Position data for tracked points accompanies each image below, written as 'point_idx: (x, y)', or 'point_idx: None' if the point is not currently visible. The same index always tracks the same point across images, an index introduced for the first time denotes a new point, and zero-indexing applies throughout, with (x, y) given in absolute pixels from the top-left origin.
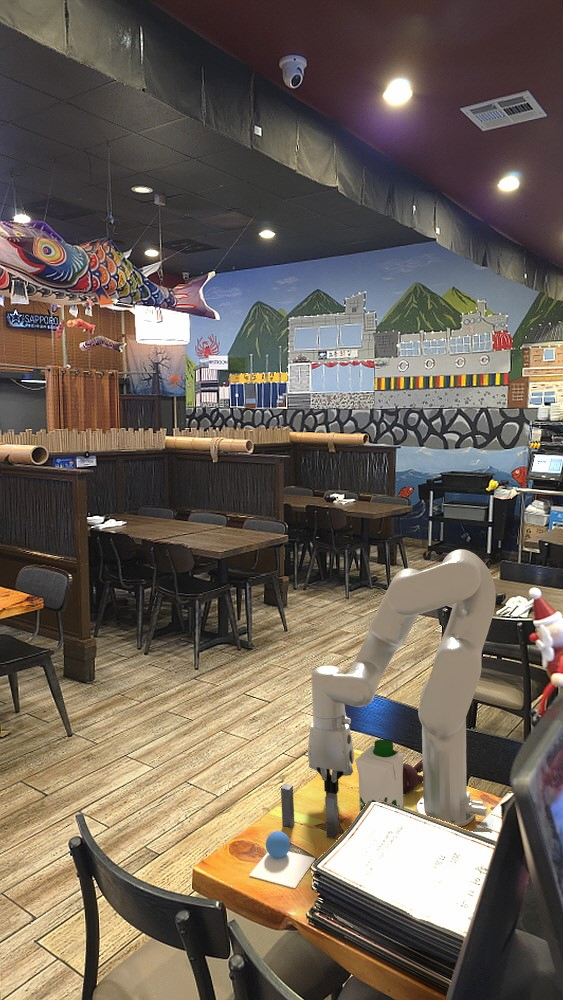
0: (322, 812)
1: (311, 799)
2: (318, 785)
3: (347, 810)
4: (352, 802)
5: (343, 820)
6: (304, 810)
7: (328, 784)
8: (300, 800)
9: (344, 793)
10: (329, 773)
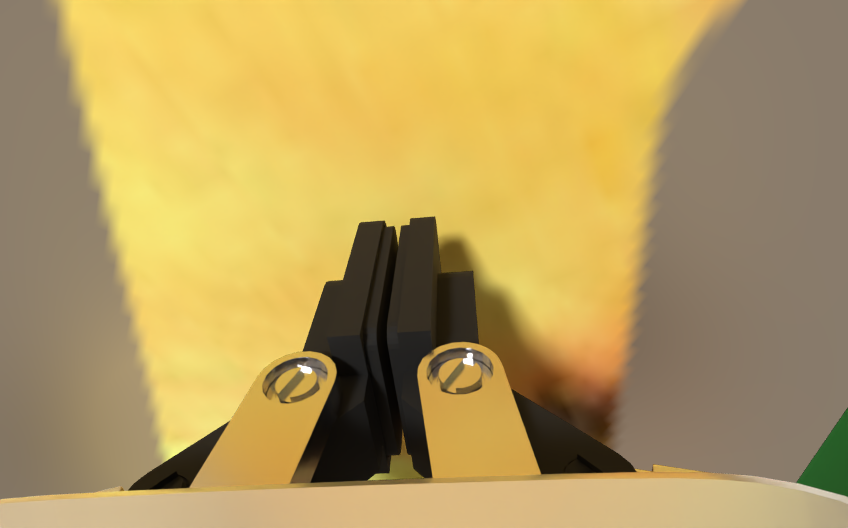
0: None
1: (237, 290)
2: (100, 29)
3: (599, 308)
4: (605, 181)
5: (610, 417)
6: None
7: (399, 437)
8: (174, 335)
9: (459, 54)
10: (338, 431)
